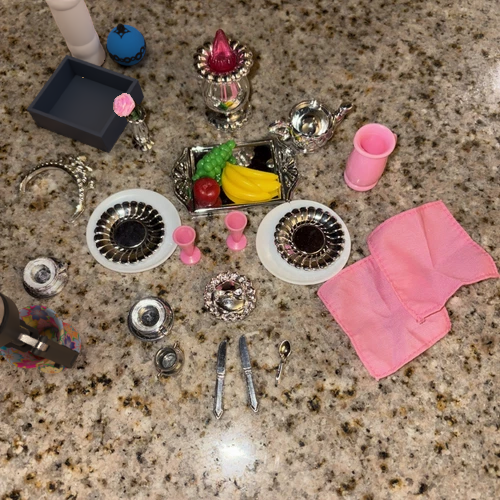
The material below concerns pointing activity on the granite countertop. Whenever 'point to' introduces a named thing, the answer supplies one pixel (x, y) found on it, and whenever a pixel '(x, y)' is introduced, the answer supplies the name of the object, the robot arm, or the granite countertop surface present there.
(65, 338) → the mug
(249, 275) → the granite countertop surface
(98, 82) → the tote
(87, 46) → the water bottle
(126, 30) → the ornament
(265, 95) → the granite countertop surface
